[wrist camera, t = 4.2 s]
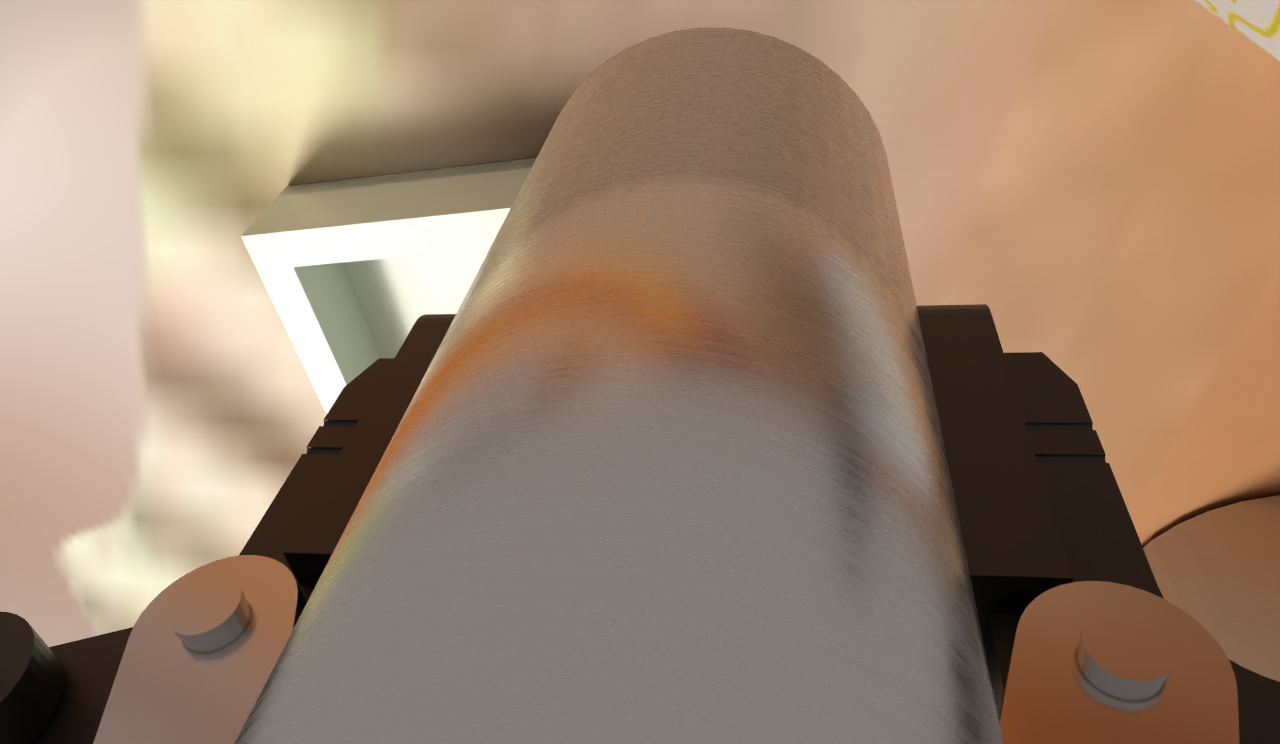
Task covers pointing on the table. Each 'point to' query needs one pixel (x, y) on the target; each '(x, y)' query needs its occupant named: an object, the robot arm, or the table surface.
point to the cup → (1251, 20)
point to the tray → (376, 259)
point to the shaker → (664, 451)
